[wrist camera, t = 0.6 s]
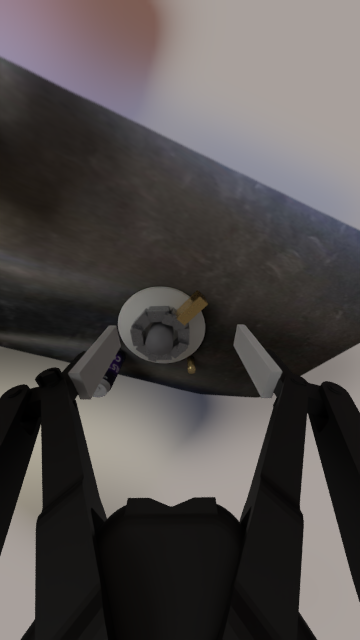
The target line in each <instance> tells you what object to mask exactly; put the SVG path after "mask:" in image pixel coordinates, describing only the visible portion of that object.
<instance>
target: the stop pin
mask: <svg viewBox="0 0 360 640" xmlns="http://www.w3.org/2000/svg"><path fill="white" fill-rule="evenodd" d="M187 364H188V373H190V374H193V373H195V363H194V357H193V356H188V357H187Z"/></svg>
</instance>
